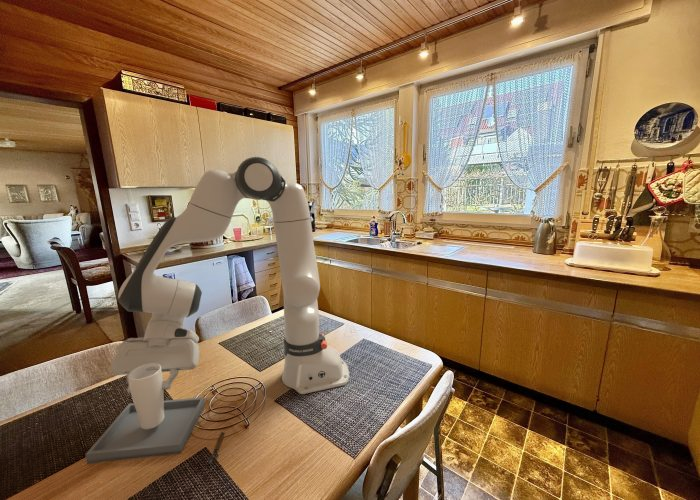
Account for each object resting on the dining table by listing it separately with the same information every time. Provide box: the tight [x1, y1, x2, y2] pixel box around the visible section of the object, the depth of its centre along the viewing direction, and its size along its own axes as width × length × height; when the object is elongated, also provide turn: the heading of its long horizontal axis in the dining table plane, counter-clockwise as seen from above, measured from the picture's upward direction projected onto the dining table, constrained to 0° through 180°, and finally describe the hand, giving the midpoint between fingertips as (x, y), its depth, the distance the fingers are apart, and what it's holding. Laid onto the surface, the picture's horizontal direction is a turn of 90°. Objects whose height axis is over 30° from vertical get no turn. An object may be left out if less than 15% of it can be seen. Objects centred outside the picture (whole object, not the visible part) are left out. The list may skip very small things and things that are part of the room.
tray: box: [84, 396, 206, 465], centre depth 74 cm, size 20×16×2 cm
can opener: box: [207, 431, 225, 466], centre depth 68 cm, size 9×2×1 cm, turn 0°
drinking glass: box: [128, 363, 165, 429], centre depth 72 cm, size 7×7×15 cm
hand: (148, 390), depth 72 cm, fingers closed on drinking glass, 6 cm apart
